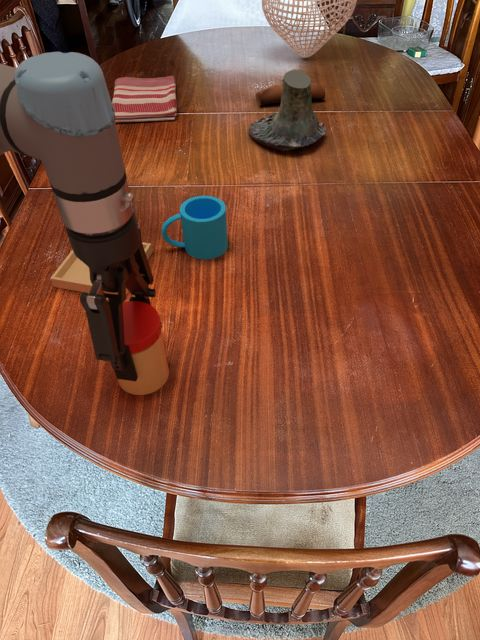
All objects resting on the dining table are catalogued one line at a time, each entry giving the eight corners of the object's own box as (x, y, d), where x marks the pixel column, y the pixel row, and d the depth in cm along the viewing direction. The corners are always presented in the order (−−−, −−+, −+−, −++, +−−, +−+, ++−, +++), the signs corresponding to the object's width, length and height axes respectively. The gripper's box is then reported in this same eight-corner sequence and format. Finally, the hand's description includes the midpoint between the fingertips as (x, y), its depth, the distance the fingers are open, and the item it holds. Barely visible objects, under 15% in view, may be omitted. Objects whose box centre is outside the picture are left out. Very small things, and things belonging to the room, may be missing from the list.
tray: (53, 287, 88) (49, 278, 87) (87, 241, 97) (85, 233, 95) (124, 299, 86) (121, 290, 85) (152, 252, 95) (151, 243, 93)
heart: (340, 45, 165) (350, -39, 149) (356, 63, 155) (368, -25, 139) (256, 51, 161) (256, -35, 144) (267, 70, 151) (268, -20, 135)
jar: (109, 389, 74) (90, 341, 66) (129, 351, 79) (115, 302, 71) (158, 399, 73) (145, 352, 65) (176, 360, 77) (166, 311, 69)
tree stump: (305, 114, 133) (321, 46, 118) (332, 167, 125) (353, 102, 109) (239, 120, 129) (246, 50, 113) (262, 176, 120) (273, 109, 105)
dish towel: (175, 83, 145) (174, 73, 143) (178, 120, 129) (176, 110, 127) (115, 86, 143) (113, 76, 141) (110, 124, 128) (108, 114, 126)
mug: (224, 230, 99) (221, 193, 93) (231, 256, 94) (229, 218, 88) (162, 238, 97) (156, 200, 91) (166, 264, 92) (159, 227, 86)
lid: (164, 309, 71) (162, 300, 70) (158, 353, 66) (156, 344, 64) (106, 310, 71) (103, 301, 70) (95, 355, 66) (91, 345, 64)
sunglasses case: (315, 87, 142) (321, 70, 136) (321, 109, 141) (327, 93, 135) (253, 93, 139) (256, 76, 133) (258, 116, 138) (261, 99, 132)
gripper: (96, 285, 48) (139, 418, 65) (161, 170, 61) (182, 306, 78) (22, 276, 48) (84, 410, 66) (101, 165, 62) (136, 300, 79)
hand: (137, 353), depth 72 cm, fingers closed on lid, 8 cm apart
